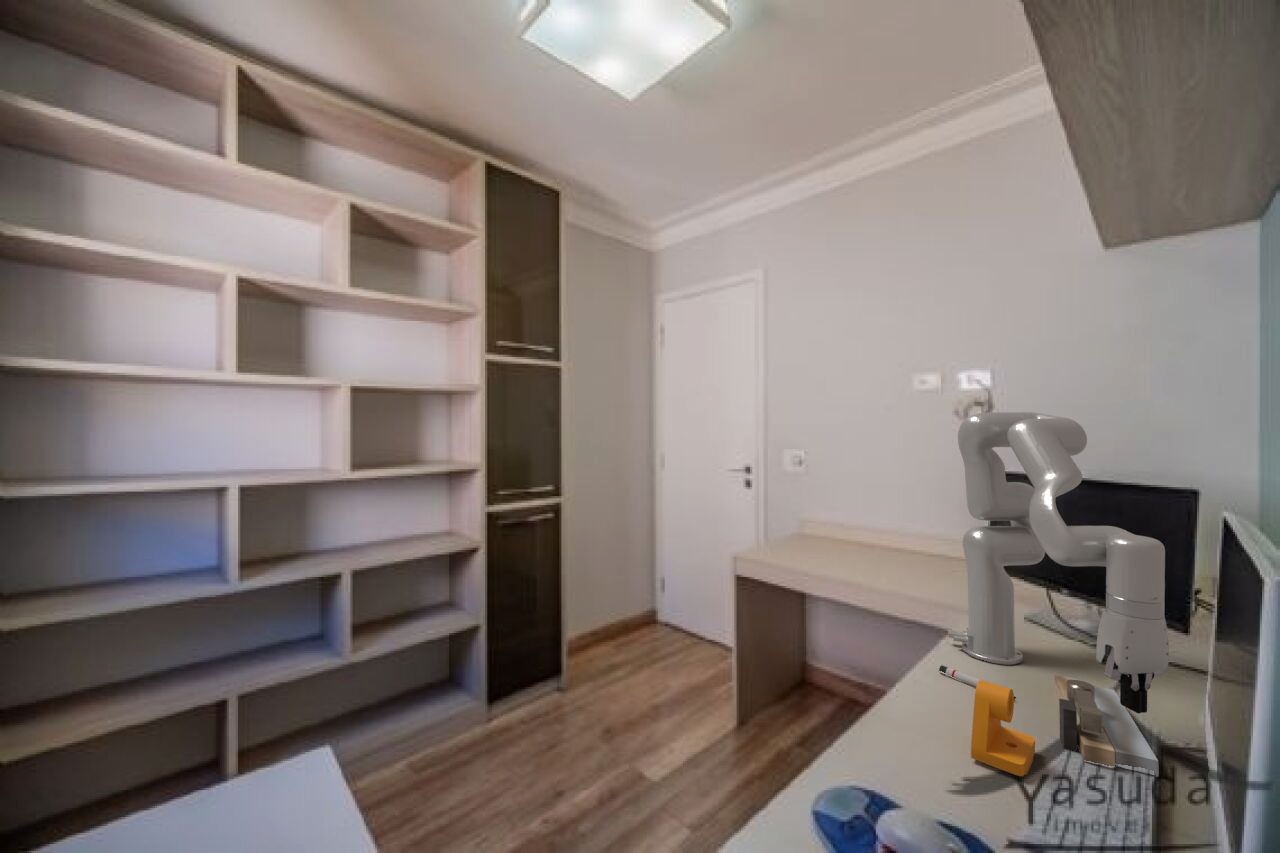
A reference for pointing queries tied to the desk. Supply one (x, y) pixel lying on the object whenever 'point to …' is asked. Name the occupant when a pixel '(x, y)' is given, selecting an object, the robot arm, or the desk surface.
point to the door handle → (1085, 706)
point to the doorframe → (1104, 731)
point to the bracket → (999, 731)
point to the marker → (960, 676)
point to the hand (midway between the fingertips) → (1133, 708)
